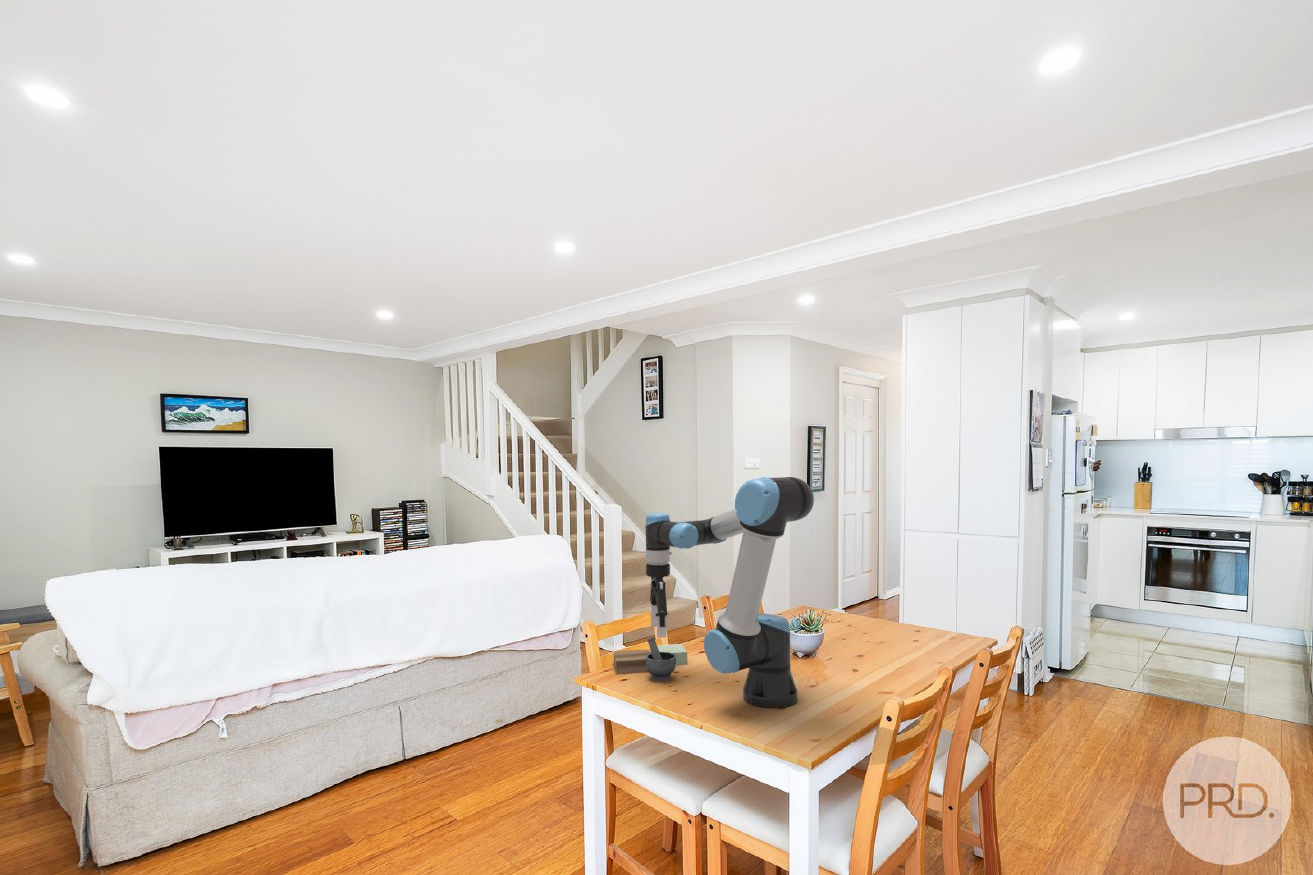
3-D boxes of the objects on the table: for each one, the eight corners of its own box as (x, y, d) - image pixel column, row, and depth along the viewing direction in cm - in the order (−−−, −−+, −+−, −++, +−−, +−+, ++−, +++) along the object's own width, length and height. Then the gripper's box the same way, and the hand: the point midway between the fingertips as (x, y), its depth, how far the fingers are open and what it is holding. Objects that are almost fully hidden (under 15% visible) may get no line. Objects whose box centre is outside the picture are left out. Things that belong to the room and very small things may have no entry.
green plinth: (687, 664, 213) (687, 652, 213) (657, 666, 212) (657, 653, 212) (681, 655, 223) (681, 643, 223) (653, 657, 222) (653, 645, 222)
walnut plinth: (653, 671, 206) (653, 659, 206) (616, 674, 204) (616, 661, 205) (649, 661, 217) (649, 649, 217) (613, 663, 215) (613, 651, 215)
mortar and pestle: (683, 679, 198) (682, 640, 199) (658, 686, 193) (657, 645, 193) (661, 670, 207) (660, 633, 208) (637, 676, 202) (636, 638, 202)
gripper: (676, 569, 190) (677, 642, 189) (663, 556, 214) (664, 620, 214) (651, 570, 189) (651, 643, 188) (641, 557, 213) (641, 621, 213)
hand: (658, 631), depth 201 cm, fingers open, 13 cm apart
